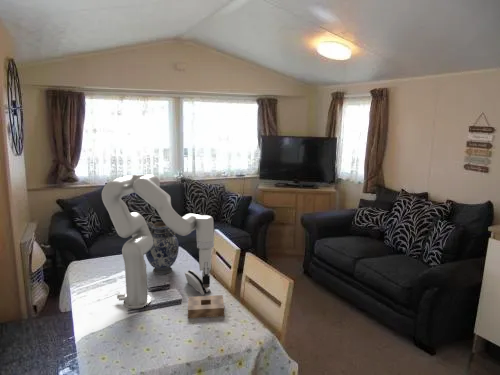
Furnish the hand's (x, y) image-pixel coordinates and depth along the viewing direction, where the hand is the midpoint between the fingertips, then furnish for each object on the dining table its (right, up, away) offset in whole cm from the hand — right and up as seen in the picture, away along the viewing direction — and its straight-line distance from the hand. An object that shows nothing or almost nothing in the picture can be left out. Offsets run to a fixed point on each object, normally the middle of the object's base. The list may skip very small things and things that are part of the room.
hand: (206, 281), depth 172 cm
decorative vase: (-30, -5, +45) cm, 54 cm away
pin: (0, -2, 0) cm, 2 cm away
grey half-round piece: (-8, -10, +25) cm, 28 cm away
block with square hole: (0, -14, +3) cm, 14 cm away
